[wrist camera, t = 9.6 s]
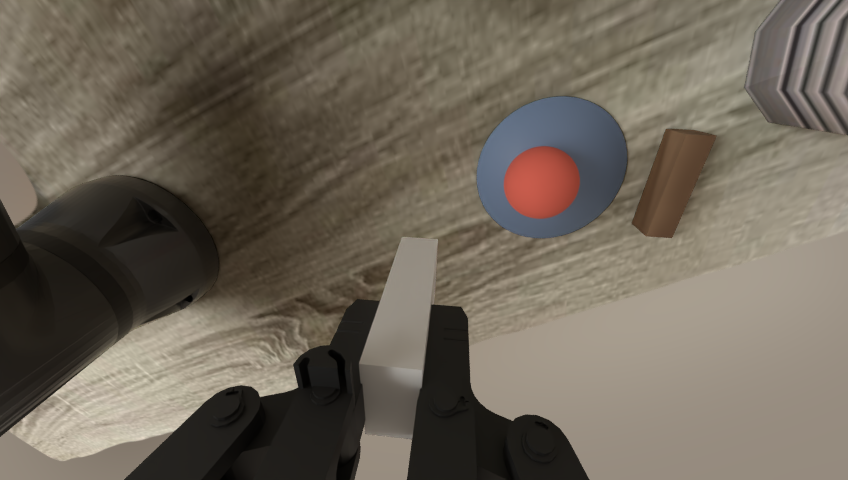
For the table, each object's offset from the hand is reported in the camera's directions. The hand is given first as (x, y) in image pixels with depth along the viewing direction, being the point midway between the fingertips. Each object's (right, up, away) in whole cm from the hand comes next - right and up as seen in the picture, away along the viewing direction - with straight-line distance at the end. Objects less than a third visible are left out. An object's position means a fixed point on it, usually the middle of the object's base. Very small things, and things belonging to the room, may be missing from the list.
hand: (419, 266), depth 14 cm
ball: (+9, +6, +11) cm, 15 cm away
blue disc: (+11, +7, +13) cm, 18 cm away
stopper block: (+20, +6, +13) cm, 24 cm away
